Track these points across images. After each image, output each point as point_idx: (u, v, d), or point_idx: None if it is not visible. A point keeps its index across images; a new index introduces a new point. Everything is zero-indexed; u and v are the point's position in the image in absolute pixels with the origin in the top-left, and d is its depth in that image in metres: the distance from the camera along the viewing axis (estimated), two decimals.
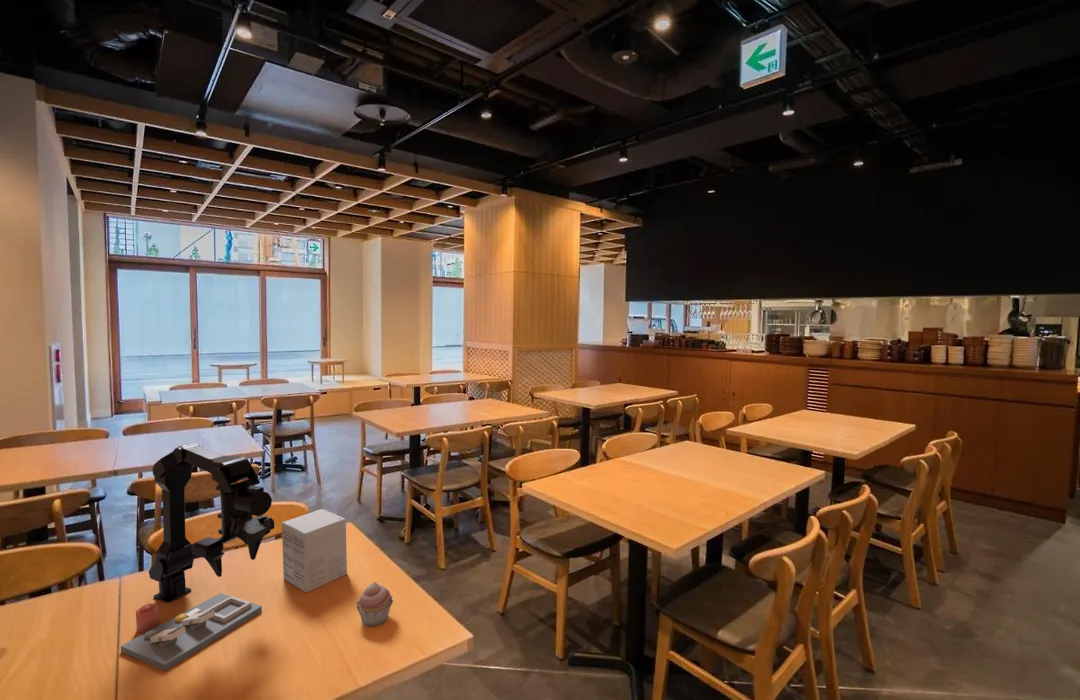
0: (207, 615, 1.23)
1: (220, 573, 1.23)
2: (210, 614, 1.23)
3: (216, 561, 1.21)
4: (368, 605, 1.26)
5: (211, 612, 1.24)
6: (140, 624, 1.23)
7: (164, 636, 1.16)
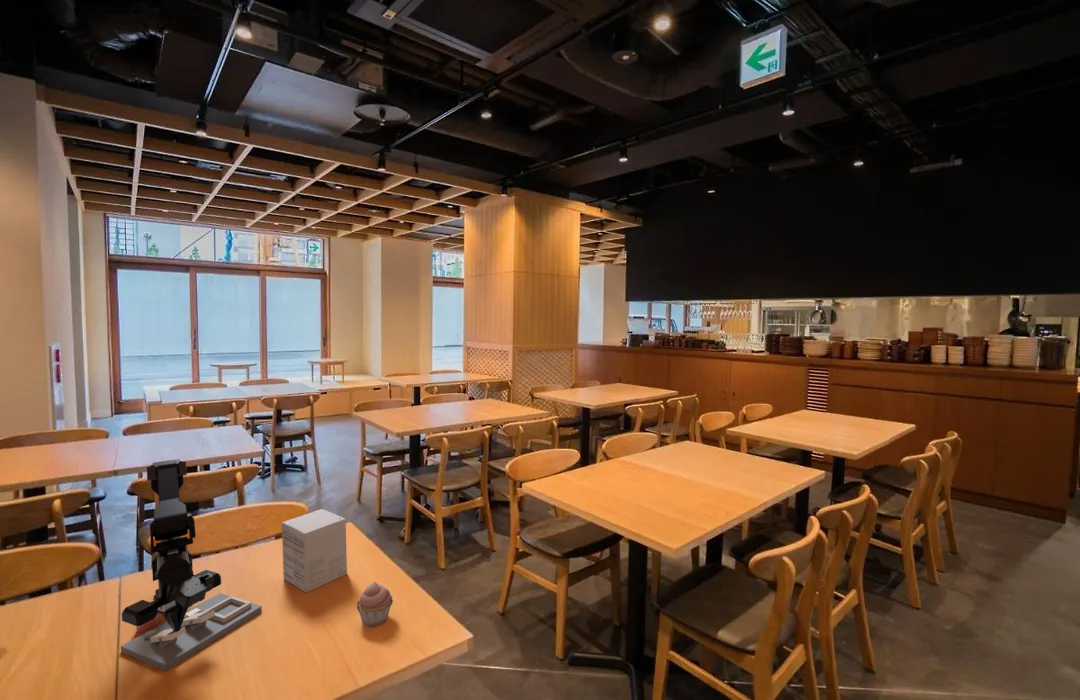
0: (207, 615, 1.23)
1: (176, 628, 1.16)
2: (210, 614, 1.23)
3: (171, 616, 1.14)
4: (368, 605, 1.26)
5: (211, 612, 1.24)
6: None
7: (164, 636, 1.16)
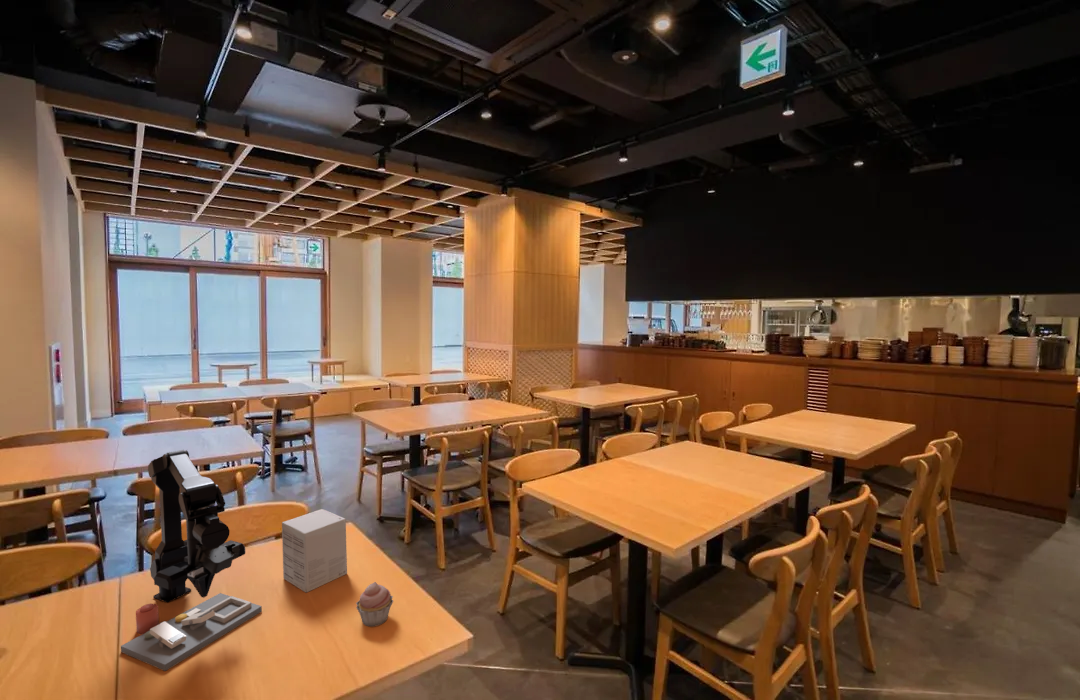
0: (207, 615, 1.23)
1: (204, 594, 1.22)
2: (210, 614, 1.23)
3: (199, 582, 1.20)
4: (368, 605, 1.26)
5: (211, 612, 1.24)
6: (140, 624, 1.23)
7: (165, 640, 1.16)
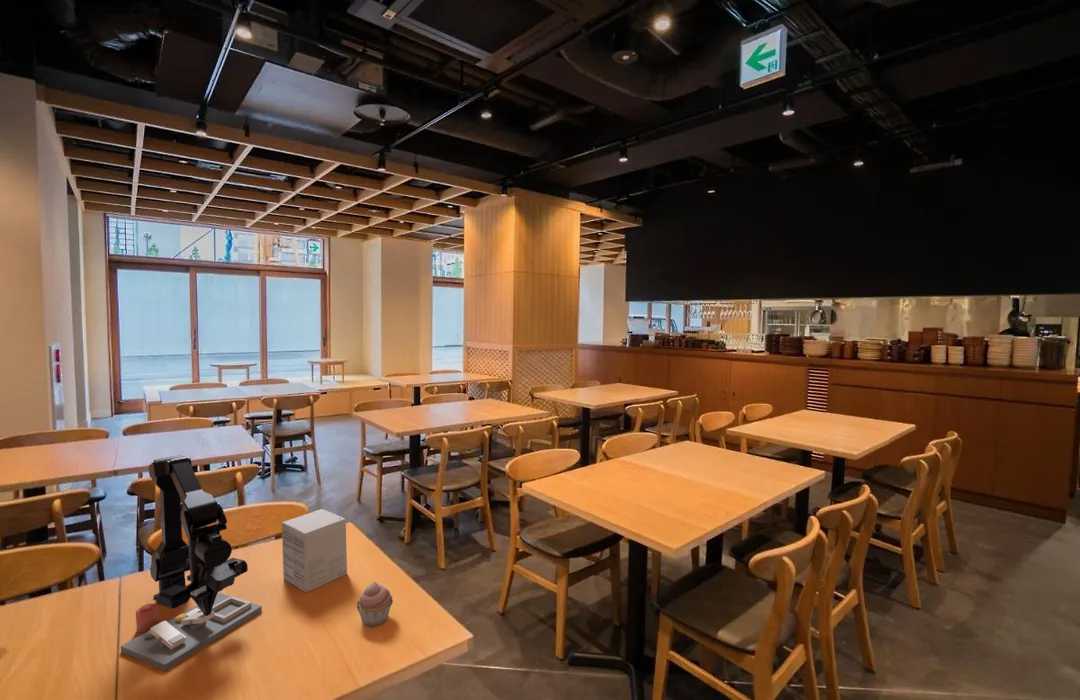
0: (207, 616, 1.23)
1: (207, 612, 1.22)
2: (210, 615, 1.23)
3: (202, 600, 1.20)
4: (368, 605, 1.26)
5: (211, 613, 1.24)
6: (140, 623, 1.23)
7: (165, 640, 1.16)
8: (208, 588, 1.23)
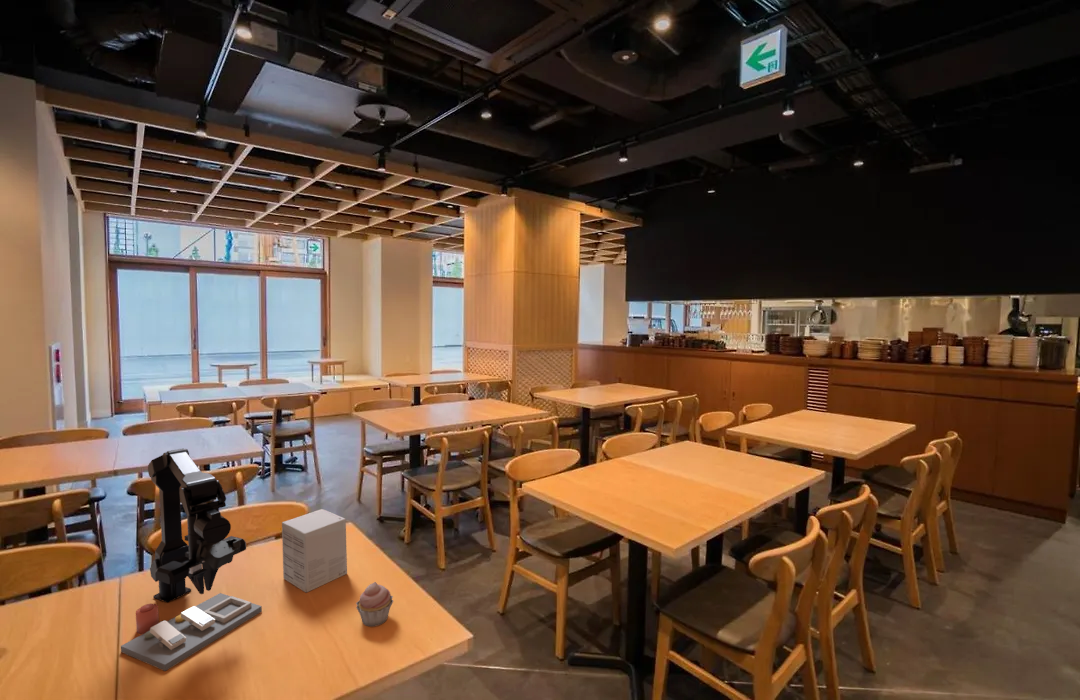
0: (208, 624, 1.23)
1: (202, 590, 1.21)
2: (211, 623, 1.23)
3: (198, 578, 1.19)
4: (368, 605, 1.26)
5: (212, 621, 1.24)
6: (140, 624, 1.23)
7: (165, 641, 1.16)
8: (209, 564, 1.23)
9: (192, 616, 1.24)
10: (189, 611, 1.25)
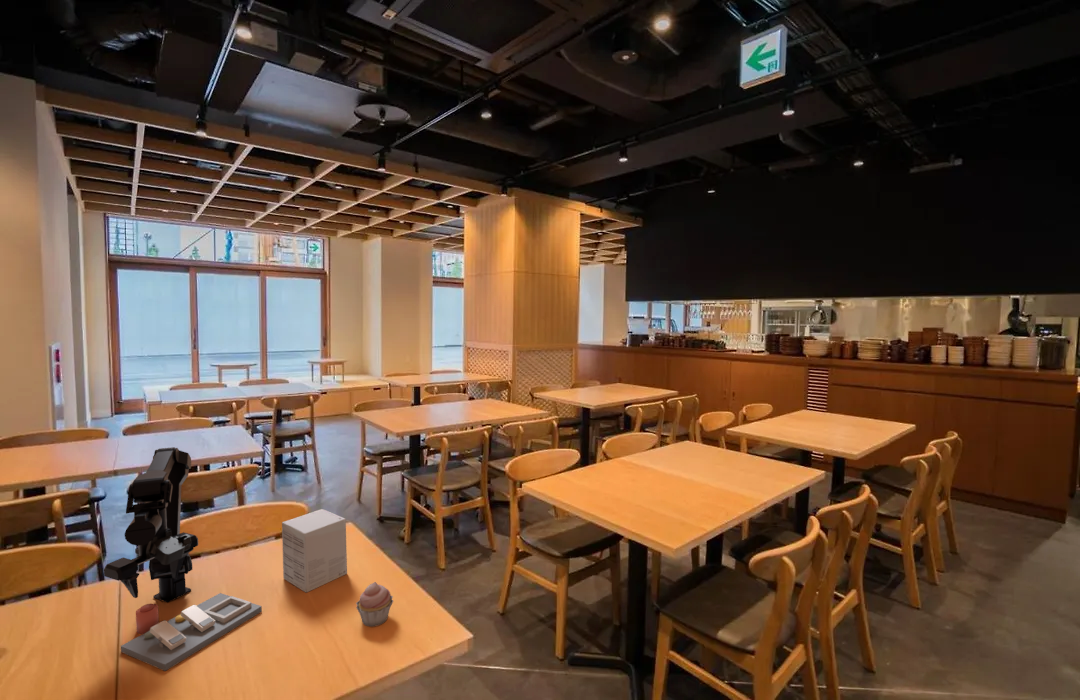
0: (208, 625, 1.23)
1: (136, 594, 1.20)
2: (211, 624, 1.23)
3: (131, 582, 1.18)
4: (368, 605, 1.26)
5: (212, 622, 1.24)
6: (140, 623, 1.23)
7: (165, 641, 1.16)
8: None
9: (192, 616, 1.24)
10: (189, 610, 1.25)
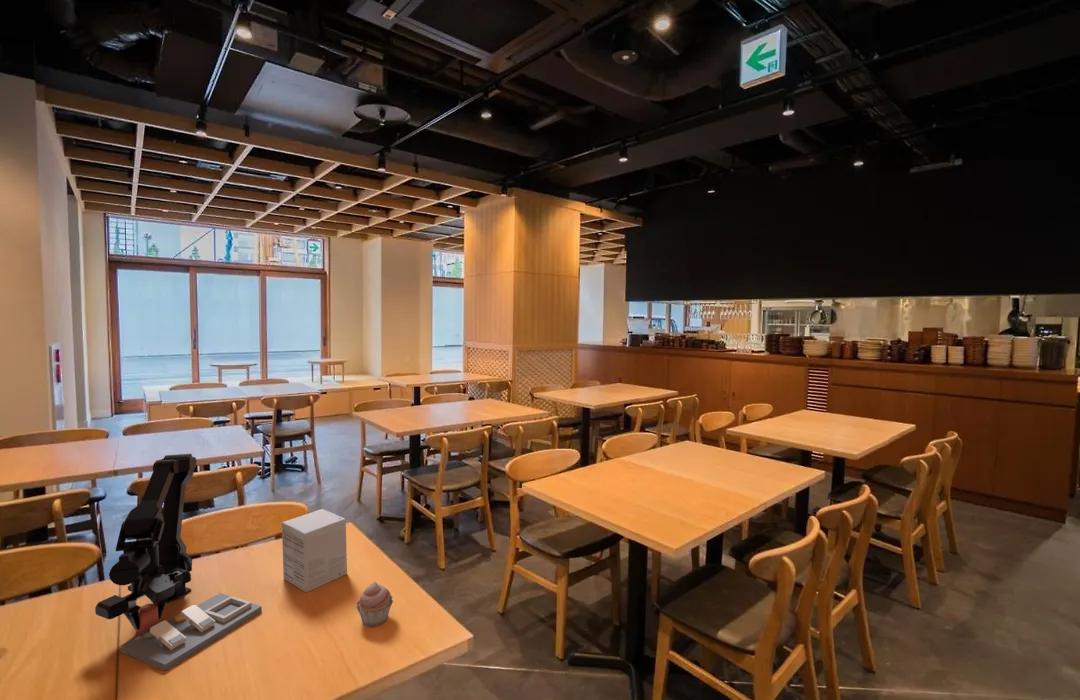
0: (208, 625, 1.23)
1: (137, 626, 1.23)
2: (211, 624, 1.23)
3: (132, 615, 1.21)
4: (368, 605, 1.26)
5: (212, 622, 1.24)
6: (140, 623, 1.23)
7: (165, 641, 1.16)
8: None
9: (192, 616, 1.24)
10: (189, 610, 1.25)
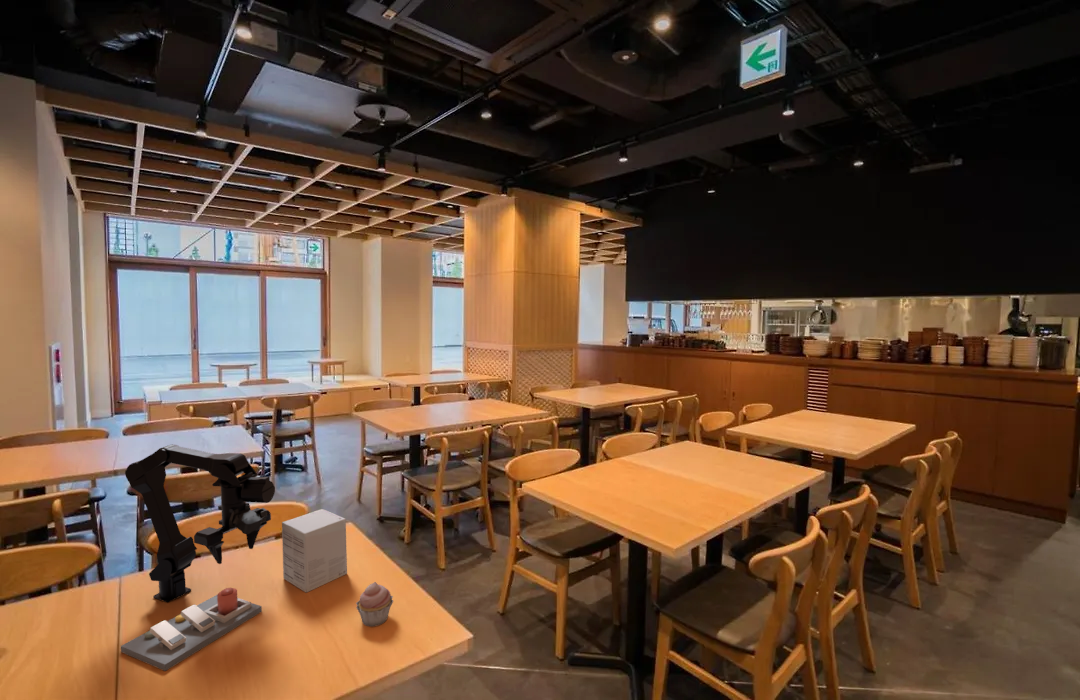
0: (208, 625, 1.23)
1: (220, 560, 1.34)
2: (211, 624, 1.23)
3: (216, 549, 1.32)
4: (368, 605, 1.26)
5: (212, 622, 1.24)
6: (222, 606, 1.28)
7: (165, 641, 1.16)
8: None
9: (192, 616, 1.24)
10: (189, 610, 1.25)
